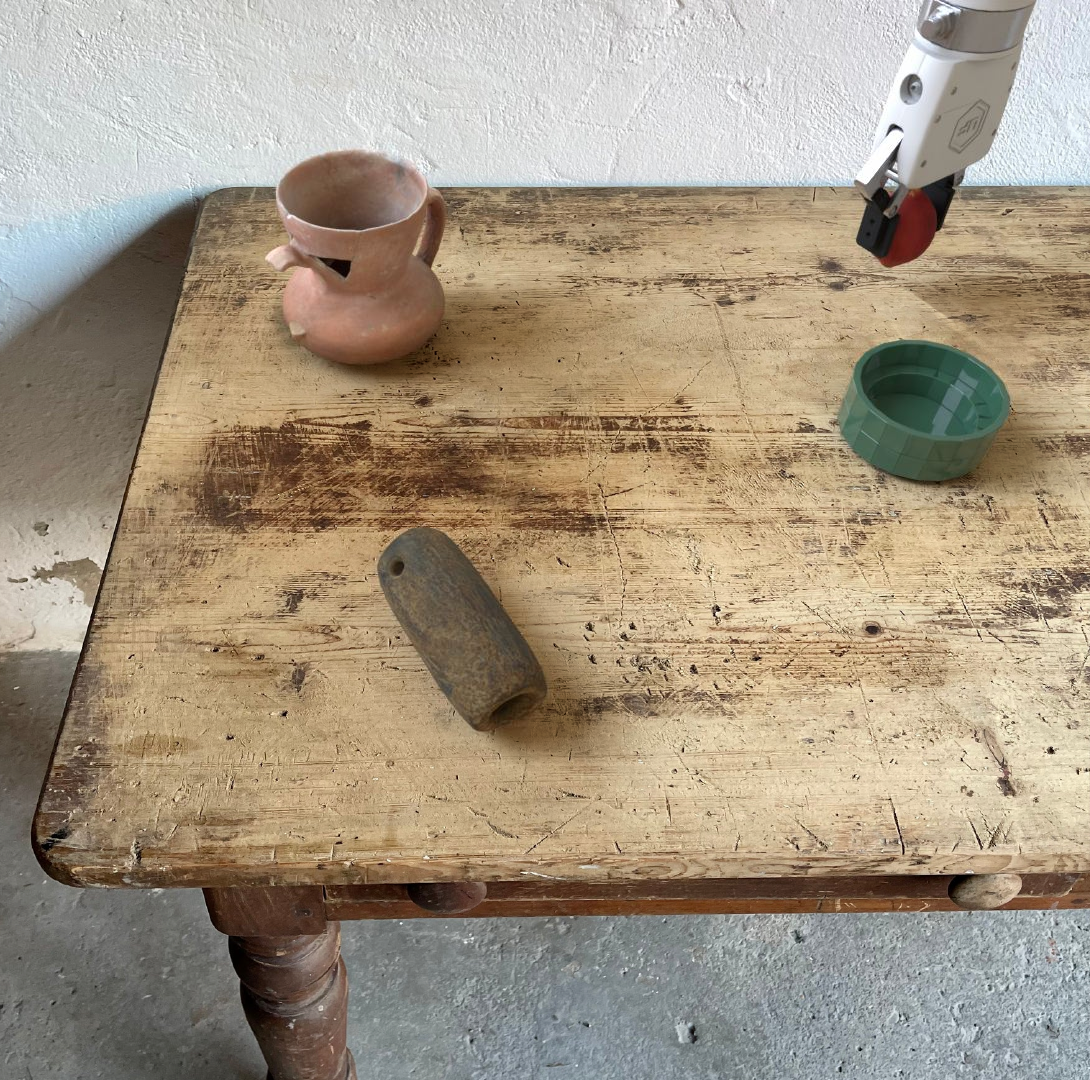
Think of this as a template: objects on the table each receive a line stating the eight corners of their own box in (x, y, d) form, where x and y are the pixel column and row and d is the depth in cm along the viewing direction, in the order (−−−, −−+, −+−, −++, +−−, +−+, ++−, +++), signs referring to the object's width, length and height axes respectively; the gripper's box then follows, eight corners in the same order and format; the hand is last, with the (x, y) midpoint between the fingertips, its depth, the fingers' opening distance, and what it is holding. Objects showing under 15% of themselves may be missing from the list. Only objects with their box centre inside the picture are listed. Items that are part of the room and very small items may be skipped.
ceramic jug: (334, 411, 85) (313, 266, 74) (246, 328, 92) (214, 183, 81) (496, 328, 92) (500, 184, 81) (403, 256, 99) (394, 114, 88)
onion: (869, 239, 93) (896, 157, 86) (930, 260, 90) (962, 176, 84) (844, 270, 90) (869, 187, 83) (906, 292, 88) (937, 208, 81)
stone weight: (362, 605, 73) (353, 546, 67) (443, 564, 75) (441, 504, 70) (476, 758, 65) (476, 704, 60) (562, 707, 68) (569, 651, 62)
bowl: (904, 368, 89) (924, 322, 85) (1015, 448, 83) (1043, 402, 79) (805, 419, 85) (822, 373, 81) (915, 507, 79) (939, 462, 75)
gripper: (932, 69, 69) (859, 292, 83) (1091, 5, 74) (997, 225, 89) (852, 30, 73) (795, 250, 87) (1008, -28, 78) (931, 188, 93)
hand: (898, 235), depth 88 cm, fingers closed on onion, 5 cm apart
